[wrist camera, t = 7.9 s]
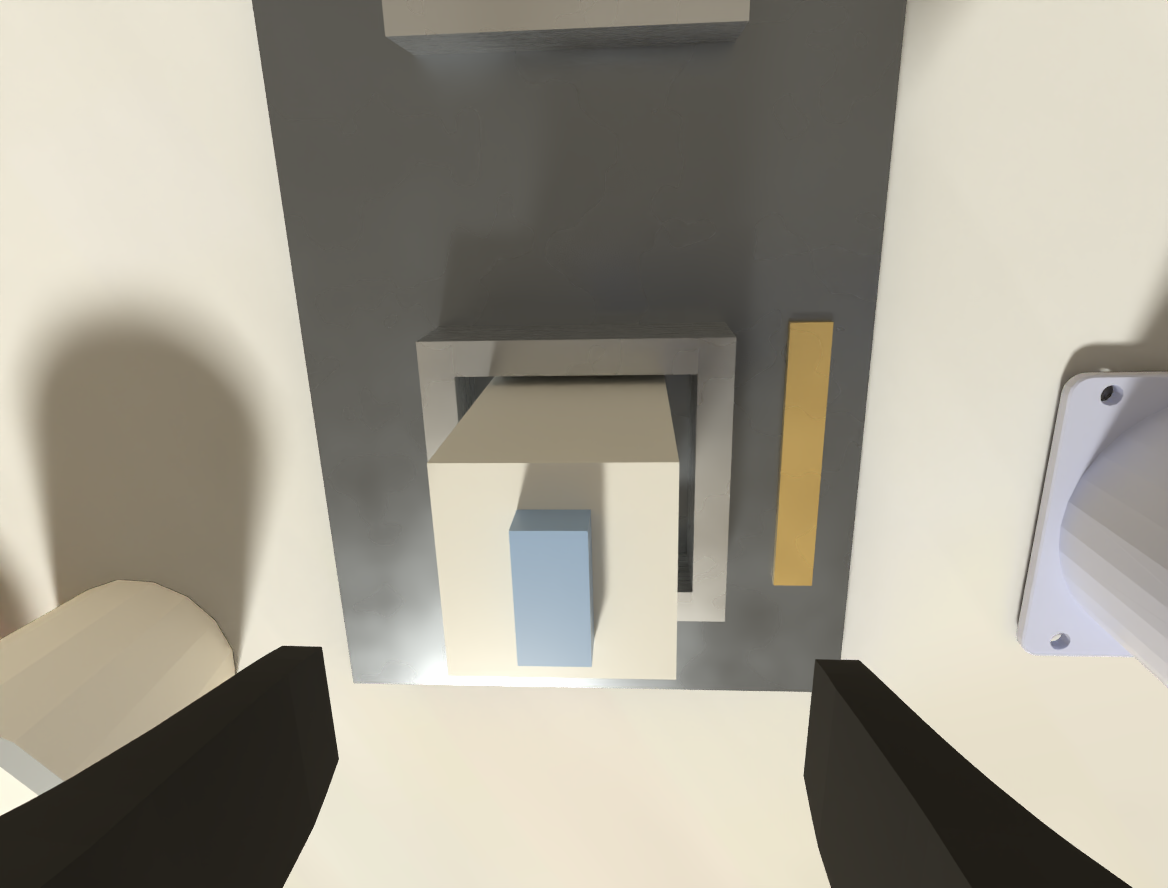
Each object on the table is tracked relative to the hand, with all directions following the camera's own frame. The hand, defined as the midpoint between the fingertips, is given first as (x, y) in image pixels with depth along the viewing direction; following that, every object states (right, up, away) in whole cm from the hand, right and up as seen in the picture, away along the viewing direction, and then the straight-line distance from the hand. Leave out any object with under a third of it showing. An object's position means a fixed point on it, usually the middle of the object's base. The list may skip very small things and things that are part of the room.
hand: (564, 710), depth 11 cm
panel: (0, +9, +7) cm, 12 cm away
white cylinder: (-13, -3, +13) cm, 19 cm away
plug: (0, +4, +8) cm, 9 cm away
